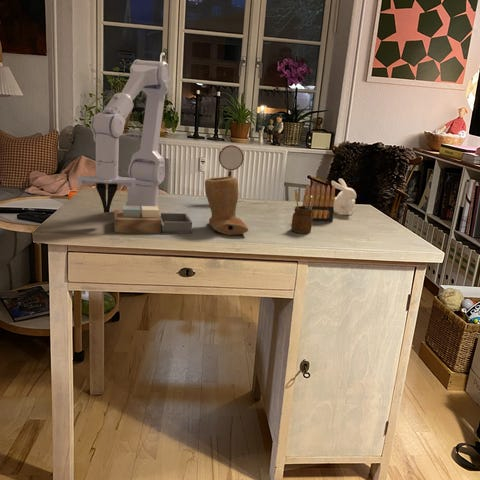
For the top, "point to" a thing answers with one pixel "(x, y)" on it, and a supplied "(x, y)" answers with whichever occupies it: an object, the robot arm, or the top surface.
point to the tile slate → (131, 211)
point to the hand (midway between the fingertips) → (106, 211)
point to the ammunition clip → (320, 203)
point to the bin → (175, 223)
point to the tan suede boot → (224, 205)
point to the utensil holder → (302, 217)
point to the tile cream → (150, 211)
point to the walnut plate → (136, 223)
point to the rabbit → (344, 198)
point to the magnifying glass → (231, 158)
